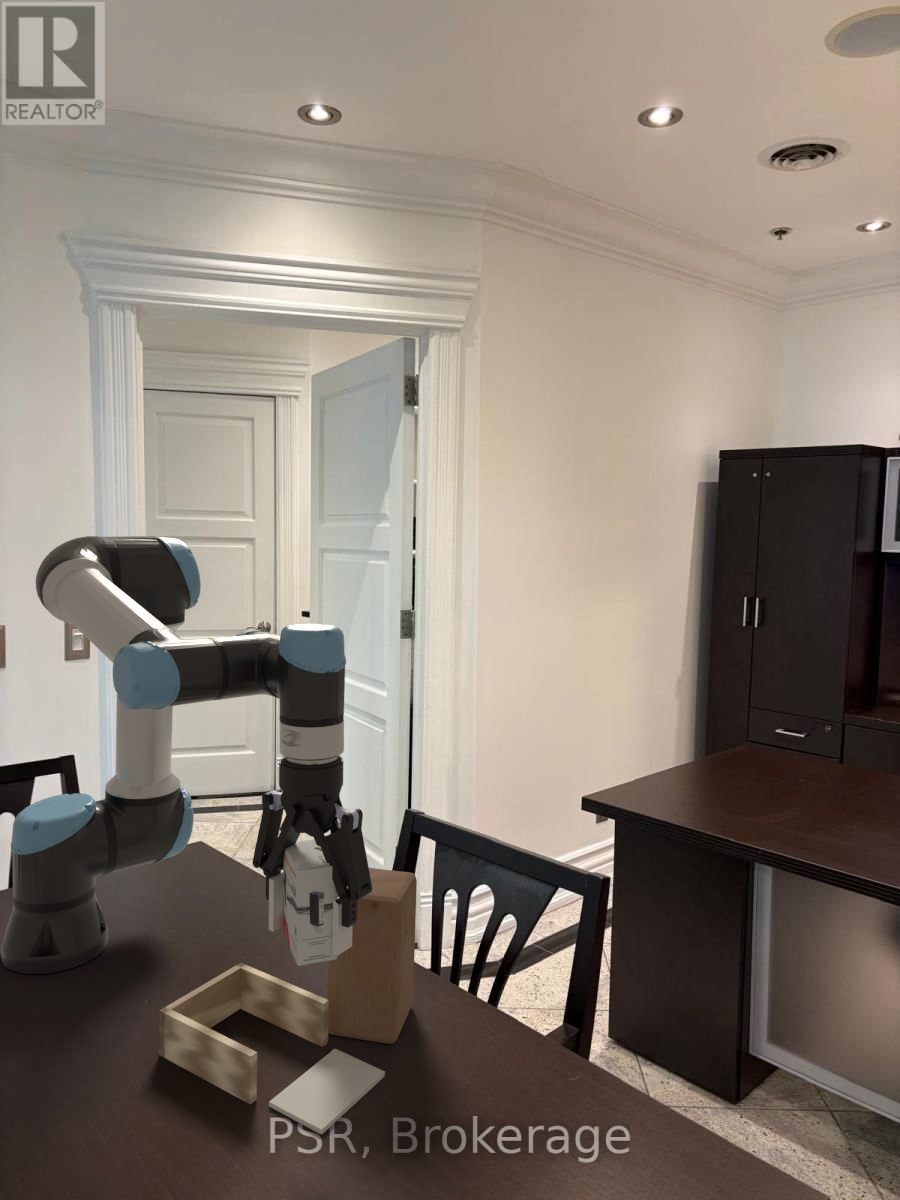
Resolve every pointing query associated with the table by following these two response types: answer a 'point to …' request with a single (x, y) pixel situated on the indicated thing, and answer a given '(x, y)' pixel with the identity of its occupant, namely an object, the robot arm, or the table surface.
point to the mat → (327, 1090)
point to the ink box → (308, 903)
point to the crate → (214, 1001)
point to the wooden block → (376, 963)
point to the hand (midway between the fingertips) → (309, 937)
